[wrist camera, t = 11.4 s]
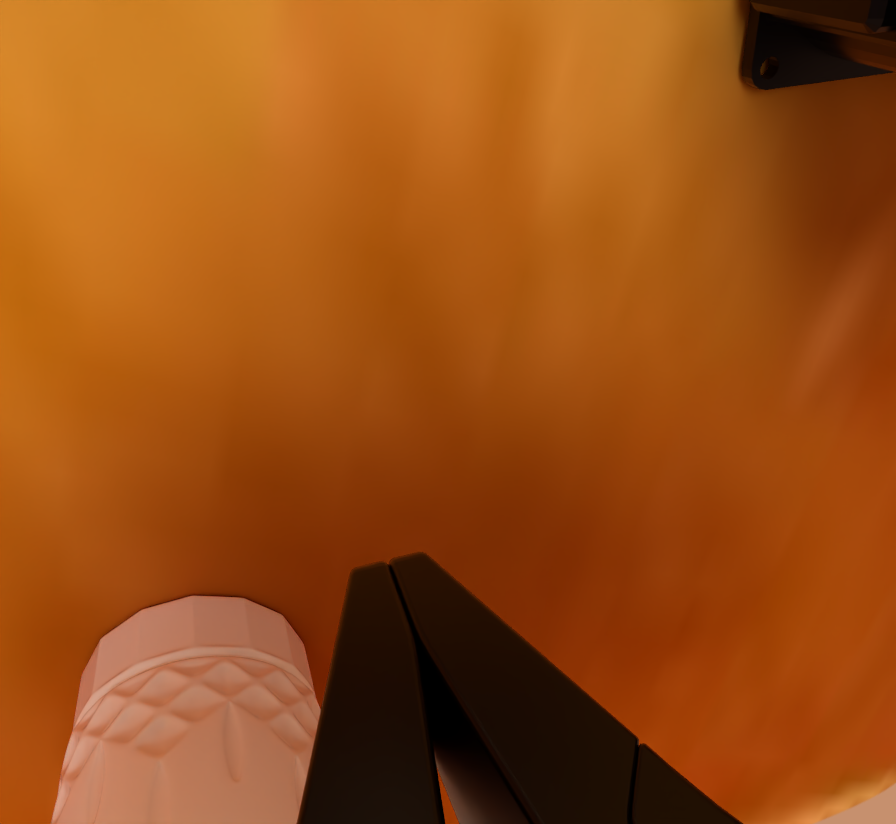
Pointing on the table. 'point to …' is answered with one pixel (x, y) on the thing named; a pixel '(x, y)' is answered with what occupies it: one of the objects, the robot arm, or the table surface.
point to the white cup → (192, 719)
